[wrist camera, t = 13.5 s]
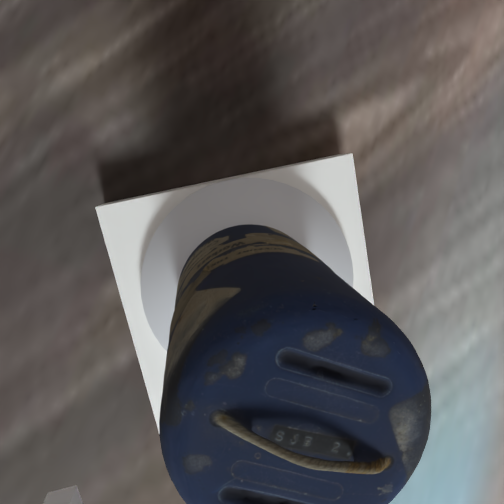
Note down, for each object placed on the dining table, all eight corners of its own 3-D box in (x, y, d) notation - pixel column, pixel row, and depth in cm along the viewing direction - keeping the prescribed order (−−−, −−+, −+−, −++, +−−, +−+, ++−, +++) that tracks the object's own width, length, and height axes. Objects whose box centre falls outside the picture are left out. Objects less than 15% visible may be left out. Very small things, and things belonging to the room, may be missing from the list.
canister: (229, 192, 29) (280, 240, 11) (339, 269, 31) (526, 410, 13) (150, 307, 30) (82, 518, 12) (261, 374, 32) (340, 637, 14)
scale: (104, 203, 32) (69, 218, 23) (338, 154, 33) (389, 151, 24) (163, 415, 36) (152, 498, 27) (370, 364, 37) (423, 426, 28)
